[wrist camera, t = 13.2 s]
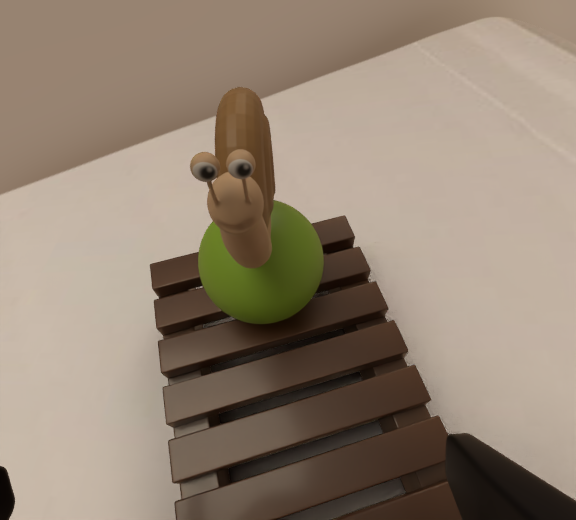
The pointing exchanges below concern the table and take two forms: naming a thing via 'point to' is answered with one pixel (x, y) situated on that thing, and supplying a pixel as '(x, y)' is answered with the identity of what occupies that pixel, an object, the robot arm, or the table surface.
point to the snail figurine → (252, 222)
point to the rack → (299, 414)
